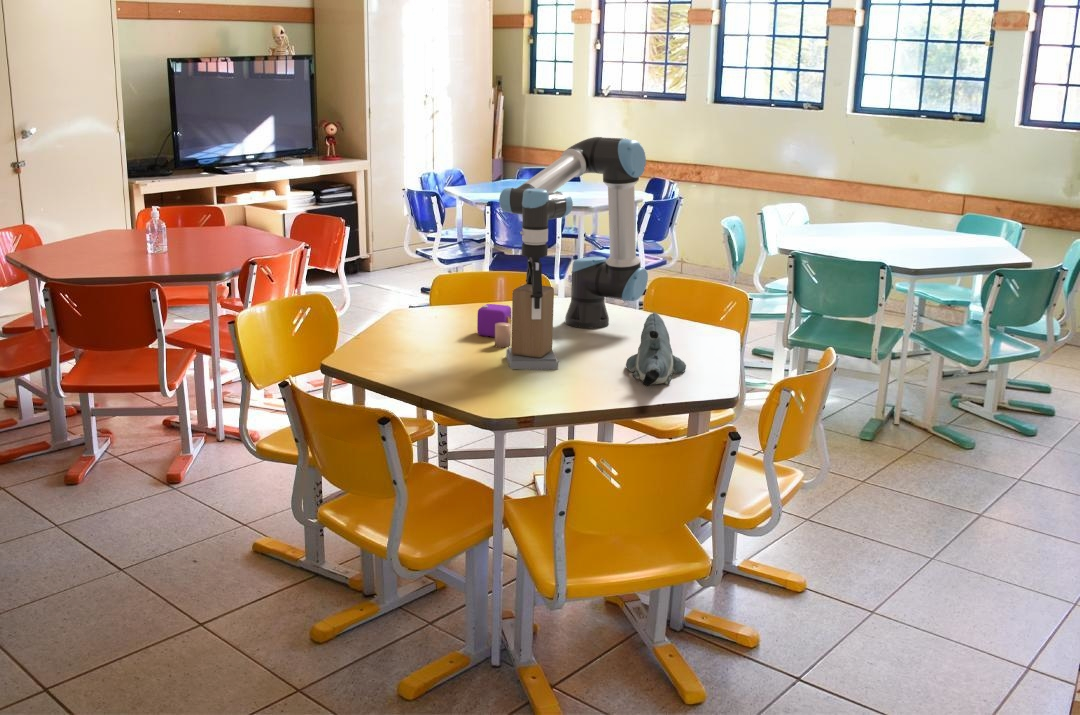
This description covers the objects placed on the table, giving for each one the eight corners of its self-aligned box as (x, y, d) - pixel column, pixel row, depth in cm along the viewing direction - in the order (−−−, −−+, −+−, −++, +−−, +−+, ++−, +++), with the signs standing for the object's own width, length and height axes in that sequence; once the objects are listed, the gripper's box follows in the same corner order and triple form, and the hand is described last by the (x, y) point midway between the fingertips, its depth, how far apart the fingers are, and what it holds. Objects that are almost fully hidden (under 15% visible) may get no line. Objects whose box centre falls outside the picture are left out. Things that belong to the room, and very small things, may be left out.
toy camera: (514, 329, 356) (514, 300, 353) (508, 339, 342) (509, 309, 340) (482, 327, 357) (482, 298, 354) (476, 337, 343) (476, 307, 341)
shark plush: (689, 367, 317) (692, 315, 312) (661, 404, 281) (665, 346, 277) (632, 360, 322) (635, 309, 318) (598, 396, 287) (600, 338, 282)
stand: (551, 356, 324) (551, 347, 323) (557, 369, 310) (558, 359, 309) (506, 356, 322) (506, 347, 321) (510, 369, 309) (510, 359, 308)
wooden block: (522, 347, 322) (524, 283, 316) (553, 351, 318) (555, 286, 313) (510, 355, 313) (511, 289, 307) (541, 359, 309) (543, 292, 304)
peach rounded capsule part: (509, 343, 337) (510, 322, 335) (511, 347, 332) (511, 326, 330) (494, 343, 336) (494, 322, 335) (495, 347, 332) (495, 326, 330)
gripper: (517, 235, 318) (516, 303, 324) (526, 250, 294) (525, 324, 300) (542, 235, 319) (541, 303, 325) (553, 250, 295) (551, 323, 301)
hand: (533, 313), depth 312 cm, fingers open, 13 cm apart
